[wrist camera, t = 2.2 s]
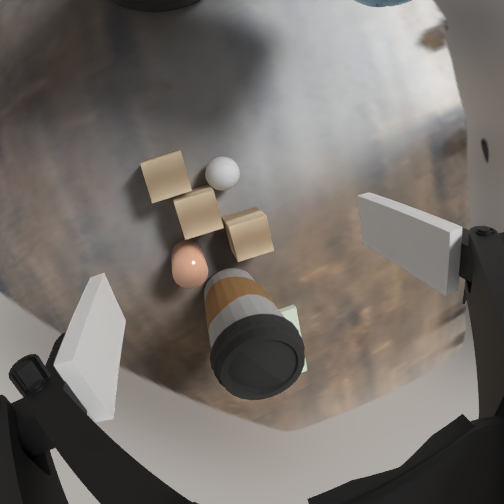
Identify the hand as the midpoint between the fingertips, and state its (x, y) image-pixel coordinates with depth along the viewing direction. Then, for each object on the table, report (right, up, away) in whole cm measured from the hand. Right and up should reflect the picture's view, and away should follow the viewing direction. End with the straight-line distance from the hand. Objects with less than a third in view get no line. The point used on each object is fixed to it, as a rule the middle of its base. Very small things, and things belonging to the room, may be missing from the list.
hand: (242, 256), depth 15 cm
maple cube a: (-9, +9, +18) cm, 21 cm away
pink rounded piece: (-7, 0, +21) cm, 22 cm away
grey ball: (-3, +8, +17) cm, 19 cm away
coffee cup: (-2, -4, +24) cm, 25 cm away
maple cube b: (-6, +5, +20) cm, 21 cm away
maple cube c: (-1, +3, +22) cm, 22 cm away
